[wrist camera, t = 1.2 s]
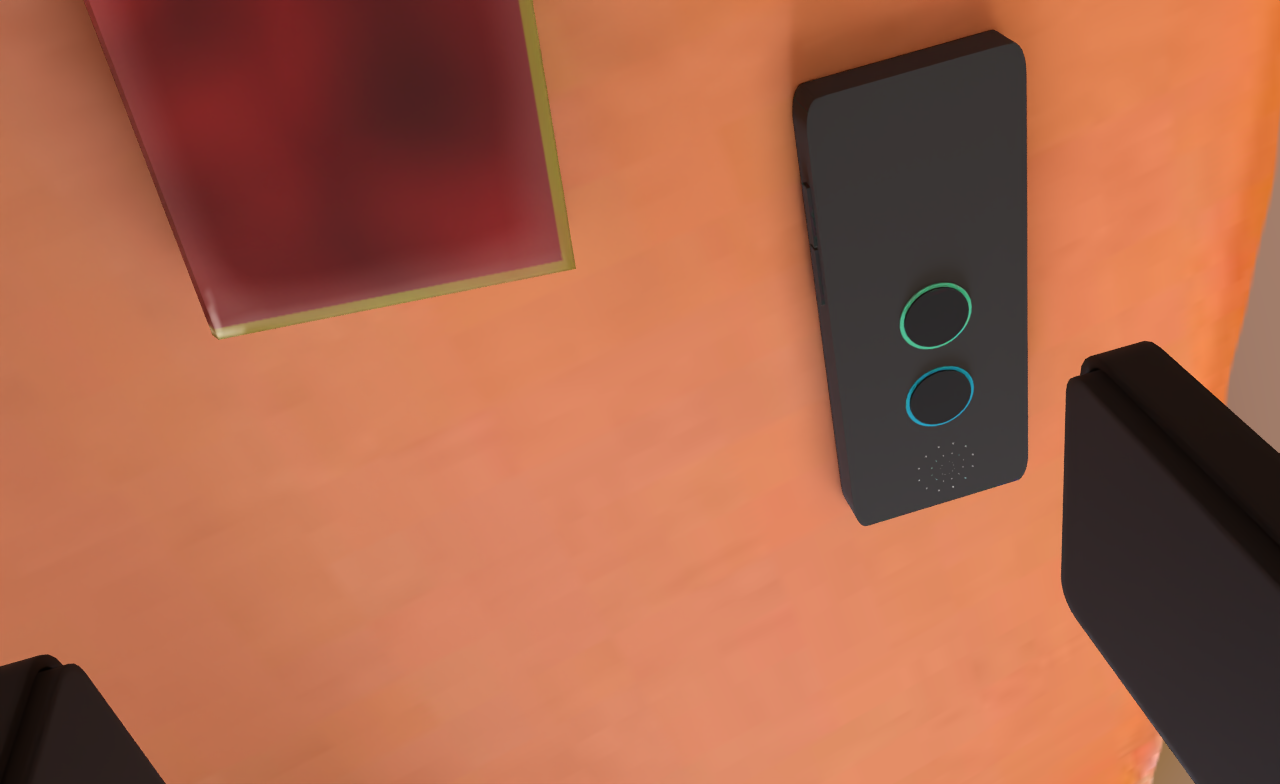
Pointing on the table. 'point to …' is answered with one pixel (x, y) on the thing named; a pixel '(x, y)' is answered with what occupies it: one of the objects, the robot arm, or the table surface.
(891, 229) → the smart home device
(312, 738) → the table surface
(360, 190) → the hardcover book
